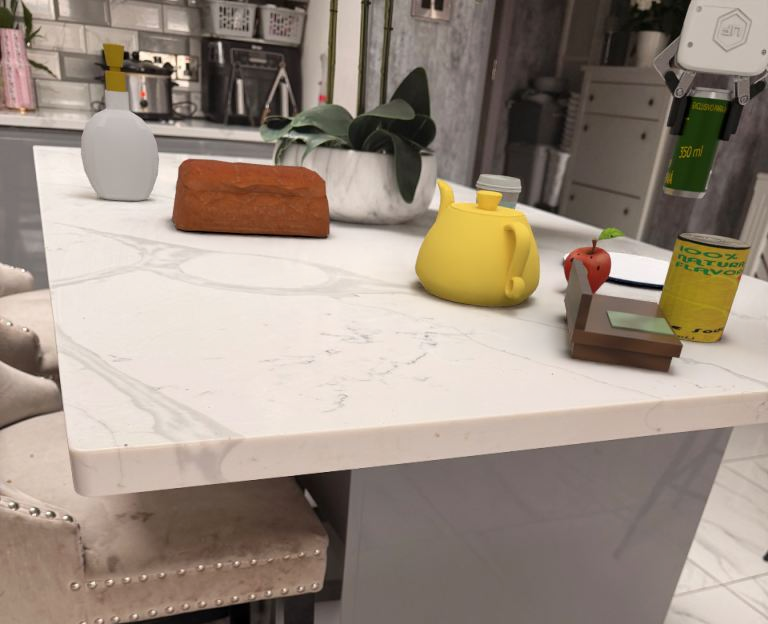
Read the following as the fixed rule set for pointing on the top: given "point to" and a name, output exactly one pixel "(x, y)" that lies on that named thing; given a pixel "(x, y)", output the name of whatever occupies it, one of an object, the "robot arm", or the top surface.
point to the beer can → (697, 142)
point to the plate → (637, 269)
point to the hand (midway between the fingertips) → (698, 135)
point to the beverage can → (702, 284)
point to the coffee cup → (501, 188)
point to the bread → (250, 199)
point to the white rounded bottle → (119, 141)
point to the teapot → (479, 252)
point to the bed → (617, 327)
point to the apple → (593, 260)
